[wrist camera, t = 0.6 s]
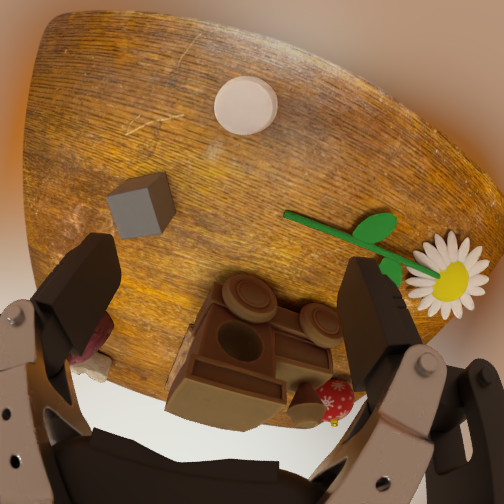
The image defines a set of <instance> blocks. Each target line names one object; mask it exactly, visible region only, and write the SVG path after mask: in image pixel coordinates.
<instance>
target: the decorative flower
mask: <svg viewBox="0 0 504 504" xmlns="http://www.w3.org/2000/svg"><path fill="white" fill-rule="evenodd" d="M283 217H284V218H287V219H290V220H293V221H295V222H298V223H301V224H303V225H306V226H309V227H311V228H314V229H317V230H319V231H322V232H325V233H327V234H330V235H332V236H335V237H338V238H340V239H343V240H345V241H348V242H350V243H353V244H355V245H358V246H360V247H363V248H365V249H368V250H370V251H373V252H375V253H378V254H380V255H382V256H385V258H384V259H382V261H381V263H380V265H379V268H380V270H381V273H382V274H386V275H387V276H388V277H389V278H390V279H391V280H392V281H393V282H394V283H395V284H396V285H397V287H399V285H400V284H401V279H402V269H401V265H400V263H402V264H404V265H406V268H407V270H408V271H409V272H410V273H412V274H413V275H416V276H418V277H412V278H409V279H407V280H406V281H405V282H406V283H407V284H409V285H412V286H418V287H419V288H417V289H414V290H412V291H411V292H410V293H409V294H408V297H410V298H420V297H424V296H425V297H424V298H423V299H422V300H421V302H420V303H419V305H418V310H423V309H426V308H427V307H429V306H430V307H429V310H428V316H429V317H431V316H433V315H434V314H436V313H437V311H438V310H439V309H440V307H441V315H442V318H443V319H444V320H446V319H447V318H448V316H449V314H450V310H451V308H452V310H453V313H454V315H455V316H456V317H457V318H461V316H462V312H463V311H462V305H461V303H462V304H463V305H464V306H465V307H466V308H467V309H469V310H473V309H474V302H473V300H472V298H471V296H470V295H475V296H480V295H483V294H485V291H484V290H483V289H482V288H481V287H479V286H480V285H483V284H485V283H487V282H488V280H489V278H488V277H487V276H485V275H479V273H480V272H482V271H483V270H484V269H485V268H486V267H487V266H488V265H489V262H490V261H488V260H480V261H478V262H476V261H477V260H478V258H479V257H480V255H481V252H482V246H478V247H476V248H475V249H473V250H472V251H471V252H470V253H469V254H468V251H469V245H470V240H469V237H468V238H466V239H465V240H464V241H463V242H462V244H461V246H460V248H459V250H458V246H457V239H456V237H455V234H454V233H453V232H452V231H450V232H449V234H448V239H447V245H446V243H445V242H444V240H443V238H442V237H441V236H440V235H438V234H435V236H434V239H435V245H436V247H437V249H436V248H435V247H434V246H433V245H431V244H429V243H428V242H424V243H423V248H424V250H425V252H426V254H427V255H425V254H424V253H422V252H420V251H417V250H415V251H413V255H414V257H415V259H416V261H417V262H418V263H419V264H418V263H416V262H413V261H411V260H409V259H407V258H404V257H402V256H400V255H398V254H395V253H393V252H391V251H388V250H386V249H384V248H381V247H379V246H376V245H374V243H377V242H380V241H382V240H383V239H385V238H386V237H387V236H389V235H390V234H391V232H392V231H393V230H394V228H395V227H396V225H397V217H395V216H394V215H393V214H391V213H379V214H375V215H372V216H369V217H368V218H366V219H365V220H364V221H362V222H361V223H360V224H359V225H358V226H357V228H356V229H355V230H354V232H353V236H352V235H350V234H347V233H345V232H342V231H339V230H337V229H334V228H332V227H329V226H327V225H324V224H321V223H319V222H316V221H314V220H311V219H308V218H306V217H303V216H300V215H298V214H295V213H292V212H289V211H287V210H286V211H285V213H284V216H283ZM467 254H468V256H467ZM469 294H470V295H469ZM459 299H460V300H459ZM460 301H461V302H460Z"/></svg>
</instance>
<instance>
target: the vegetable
mask: <svg viewBox="0 0 504 504" xmlns="http://www.w3.org/2000/svg"><path fill="white" fill-rule="evenodd" d="M113 327H114V325H113V322H112V320H111V318H110V317H109V315H108V314H107V313H106V312H104V314H103V316H102V318H101V320H100V321H99V323H98V325H97V327H96V329H95V331H94V333H93V335H92V337H91V339H90V341H89V343H88V345H87V347H86V349H85V351H84V353H83V355H82V357H79V356H76V355H73V354H70V353H69V354H68V356H67V358H66V359H67V361H68V363H69V366H72V365H76V364H80V363H82V362H84V361H86V360H88V359H89V358H90V357H91V356H92V355H93V354H94V353H96V352H97V351H98V350H99V349H100V347H101V346H102V345H103V344H104V343H105V341H106V340H107V339H108V337H109V336H110V334H111V332H112V330H113Z"/></svg>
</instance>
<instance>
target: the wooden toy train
mask: <svg viewBox="0 0 504 504" xmlns="http://www.w3.org/2000/svg"><path fill="white" fill-rule="evenodd" d="M191 336H193V337H194V340H193V342H192V344H191V347H190V349H189V352H188V354H187V357H186V360H185V362H184V364H183V365H182V367H181V368H180V370H179V372H178V374H177V375H176V377H175V379H174V381H173V383H172V385H171V388H170V391H169V394H168V398H167V402H166V406H165V411H167V412H169V413H172V414H174V415H177V416H179V417H181V418H184V419H186V420H190V421H194V422H197V423H200V424H204V425H208V426H212V427H216V428H220V429H226V430H233V431H242V432H245V431H248V430H250V429H253V428H256V427H258V426H259V425H261V424H263V423H264V422H266V421H268V420H269V419H271V418H273V417H274V416H275V415H276V414H277V413H278V412H279V411H281V410H282V409H283V408H284V407H285V406H286V405H287V395H286V392H289V393H295V395H294V398H293V400H292V402H291V404H290V406H289V408H288V410H287V412H286V413H287V414H288V416H289V417H290V418H291V419H292V420H293V422H294V423H295V424H296V425H297V426H298V427H300V428H311V427H314V426H317V425H318V423H319V422H320V420H321V418H322V416H323V415H324V413H325V411H326V409H327V408H326V407H325V405H324V404H323V402H322V401H321V399H320V397H319V396H318V394H317V393H316V391H315V390H317V389H318V388H319V387H321V386H322V385H324V384H325V383H326V382H327V381H328V380H329V379H330V378H331V377H332V376H333V361H332V355H331V351H330V349H331V348H333V347H336V346H339V345H340V344H341V343H342V342H343V339H344V338H343V333H342V328H341V324H340V319H339V316H338V315H337V314H336V312H335V311H333V310H332V309H331V308H329V307H328V306H326V305H324V304H320V303H310V304H307V305H305V306H303V308H302V309H301V311H300V314H298V313H295V312H293V311H290V310H287V309H285V308H282V307H279V306H277V300H276V297H275V295H274V293H273V291H272V290H271V289H270V287H269V286H268V285H267V284H265V283H264V282H263V281H262V280H260V279H258V278H256V277H253V276H250V275H241V274H239V275H235V276H232V277H230V278H229V279H227V280H226V281H225V282H224V284H220V283H218V282H214V284H213V286H212V288H211V290H210V292H209V294H208V296H207V298H206V300H205V302H204V304H203V306H202V308H201V310H200V312H199V314H198V316H197V318H196V321H195V324H194V328H193V332H192V335H191Z"/></svg>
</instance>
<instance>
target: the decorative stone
mask: <svg viewBox="0 0 504 504" xmlns="http://www.w3.org/2000/svg"><path fill="white" fill-rule="evenodd" d="M111 364H112V360H111V359H110V358H109V357H107V356H105V355H103V354H101V353H98V352H96V353H94V354H93V355H92V356H91V357H90V358H89V359H88V360H86V361H84V362H82V363H80V364H76V365H72V366H70V371H72V372H74V373H76V374H78V375H80V374H81V373H86V374H87V375H88V376H89V377H90V378H92V379H94V380H96V381H98V382H105V381H106V380H107V377H108V373H109V370H110V366H111Z"/></svg>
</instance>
